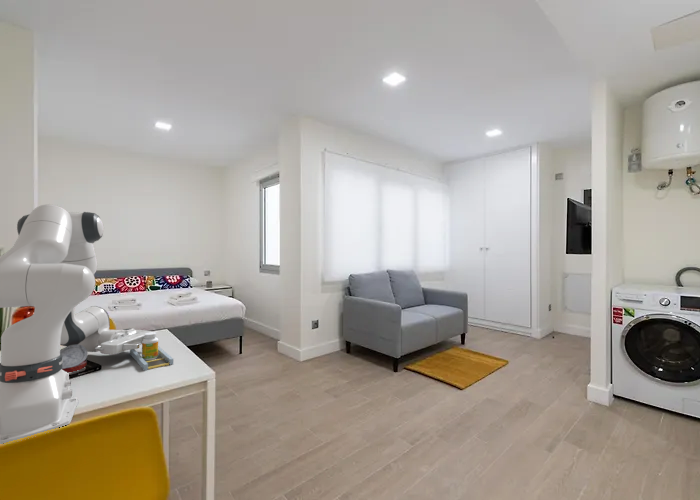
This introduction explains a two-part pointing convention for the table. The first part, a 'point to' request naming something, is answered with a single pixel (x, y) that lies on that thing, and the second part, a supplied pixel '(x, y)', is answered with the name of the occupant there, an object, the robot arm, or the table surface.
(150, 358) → the supplement bottle
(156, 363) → the channel
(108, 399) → the table surface
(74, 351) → the canned food
